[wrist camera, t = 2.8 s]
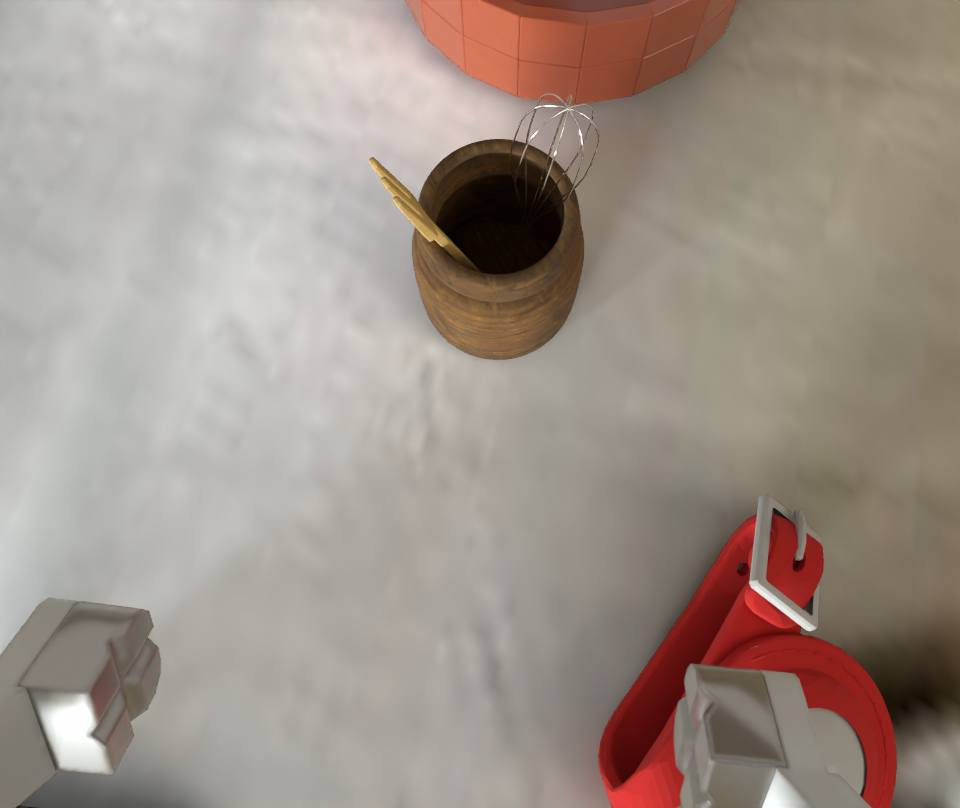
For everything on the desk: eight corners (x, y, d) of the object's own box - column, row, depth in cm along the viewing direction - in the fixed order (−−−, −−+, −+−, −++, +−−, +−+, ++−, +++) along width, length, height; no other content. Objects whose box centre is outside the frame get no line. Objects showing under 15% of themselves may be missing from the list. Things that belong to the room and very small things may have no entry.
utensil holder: (604, 315, 32) (664, 153, 20) (463, 397, 31) (442, 278, 20) (524, 196, 33) (538, -23, 21) (388, 272, 32) (324, 90, 21)
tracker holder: (966, 836, 26) (710, 1002, 23) (865, 787, 31) (637, 923, 28) (843, 477, 26) (570, 598, 23) (759, 478, 30) (519, 580, 28)
